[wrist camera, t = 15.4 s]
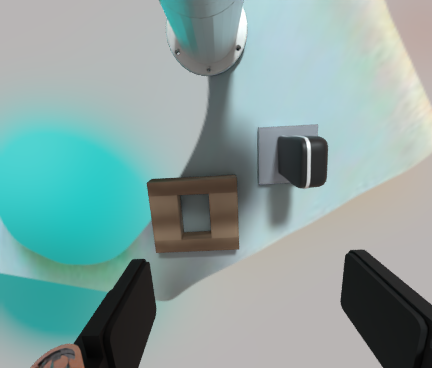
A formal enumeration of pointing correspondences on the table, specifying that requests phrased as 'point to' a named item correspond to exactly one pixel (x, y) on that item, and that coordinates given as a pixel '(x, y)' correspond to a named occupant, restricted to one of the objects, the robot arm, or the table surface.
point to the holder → (173, 222)
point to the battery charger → (303, 160)
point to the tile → (276, 150)
